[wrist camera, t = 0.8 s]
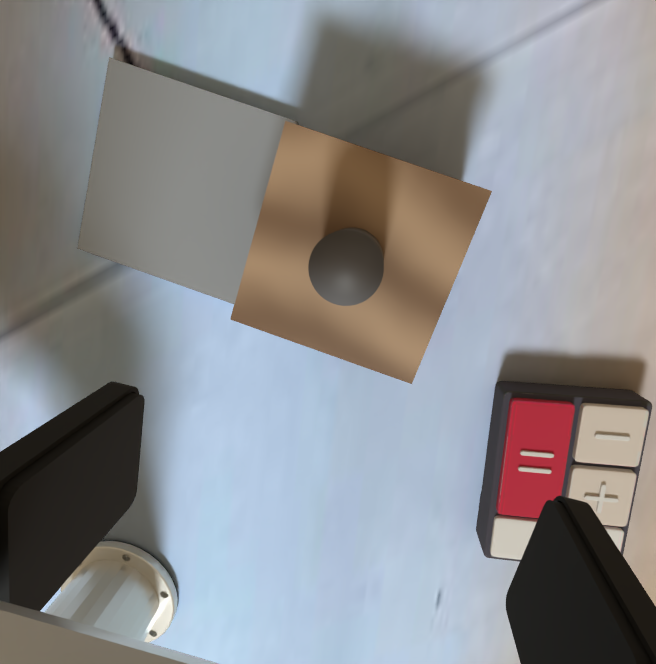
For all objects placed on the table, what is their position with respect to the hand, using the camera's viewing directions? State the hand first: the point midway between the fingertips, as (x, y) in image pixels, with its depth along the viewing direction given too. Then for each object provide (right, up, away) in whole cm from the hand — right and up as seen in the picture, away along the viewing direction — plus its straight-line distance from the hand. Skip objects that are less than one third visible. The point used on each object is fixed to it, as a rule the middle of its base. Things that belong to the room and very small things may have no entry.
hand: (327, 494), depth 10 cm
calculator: (+19, -8, +29) cm, 36 cm away
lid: (+2, +9, +20) cm, 22 cm away
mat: (-12, +15, +26) cm, 33 cm away
